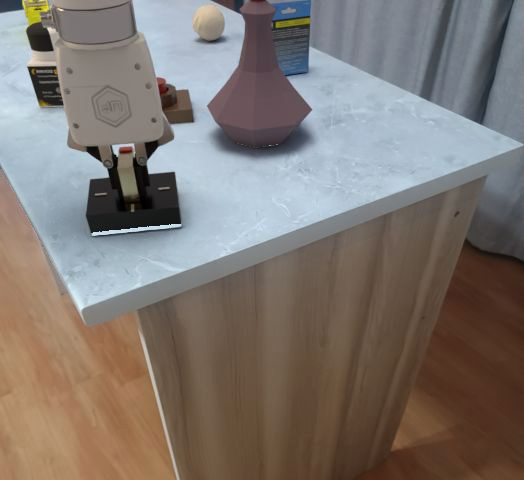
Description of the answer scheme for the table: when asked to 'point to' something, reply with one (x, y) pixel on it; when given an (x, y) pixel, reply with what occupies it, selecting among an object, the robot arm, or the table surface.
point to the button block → (176, 105)
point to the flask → (258, 87)
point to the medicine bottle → (44, 65)
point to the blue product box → (292, 36)
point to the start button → (161, 85)
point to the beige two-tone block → (127, 174)
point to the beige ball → (208, 22)
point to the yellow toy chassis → (35, 9)
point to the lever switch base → (133, 205)
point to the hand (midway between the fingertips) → (132, 191)
